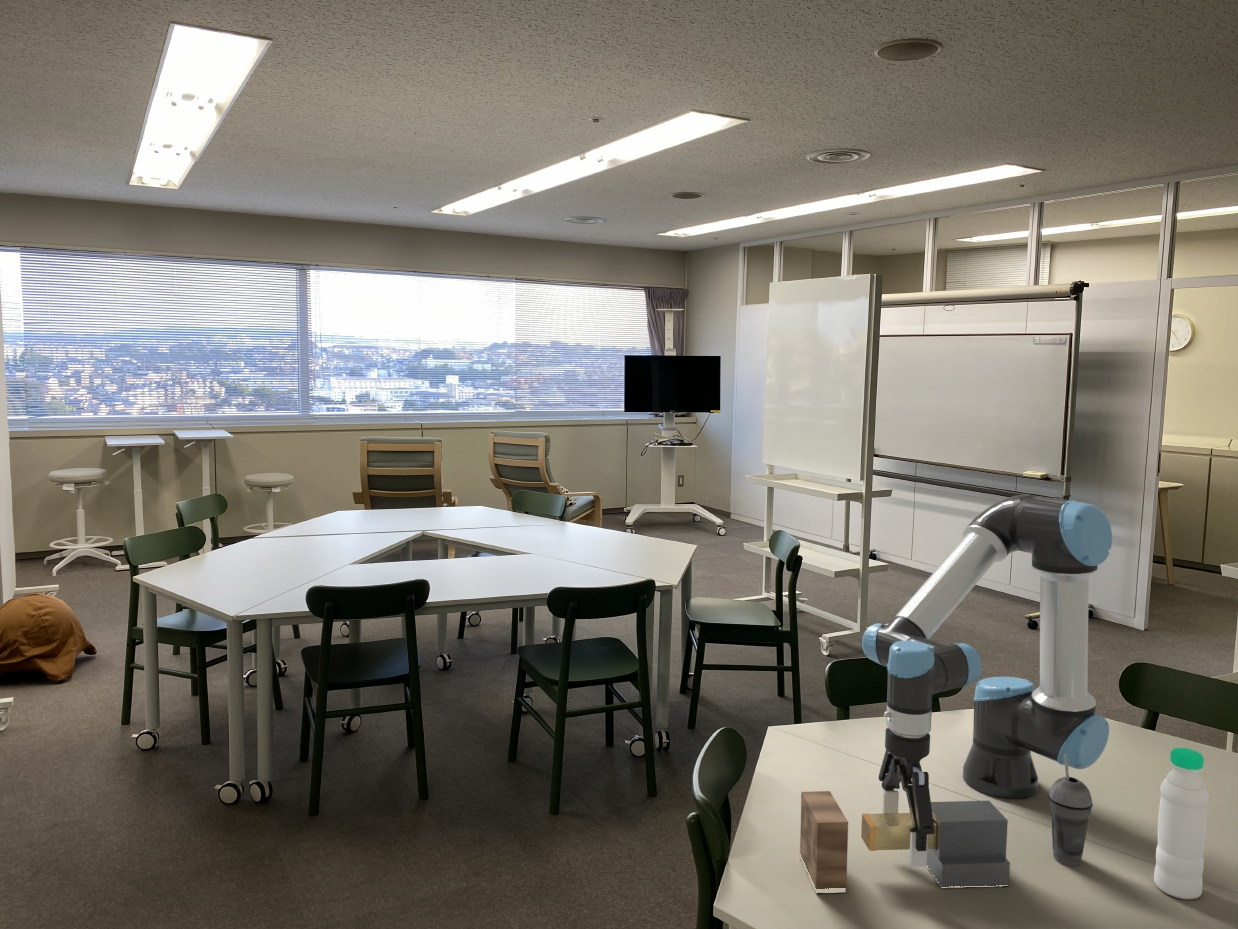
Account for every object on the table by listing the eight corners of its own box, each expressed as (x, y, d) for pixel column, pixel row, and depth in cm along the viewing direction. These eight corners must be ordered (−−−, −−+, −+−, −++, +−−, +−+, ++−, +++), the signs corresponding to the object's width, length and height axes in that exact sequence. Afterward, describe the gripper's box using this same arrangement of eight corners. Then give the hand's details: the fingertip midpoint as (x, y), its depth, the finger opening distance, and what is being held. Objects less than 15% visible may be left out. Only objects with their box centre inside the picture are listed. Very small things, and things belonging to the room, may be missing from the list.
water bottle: (1186, 906, 146) (1197, 764, 144) (1144, 884, 153) (1154, 748, 150) (1210, 894, 150) (1221, 755, 147) (1168, 873, 156) (1178, 740, 153)
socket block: (799, 858, 161) (801, 791, 159) (828, 858, 161) (829, 791, 160) (815, 894, 150) (817, 822, 148) (846, 893, 150) (848, 822, 149)
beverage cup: (1087, 875, 155) (1094, 768, 153) (1042, 862, 159) (1048, 758, 157) (1090, 855, 162) (1096, 753, 159) (1047, 844, 165) (1052, 744, 163)
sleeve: (919, 857, 161) (921, 798, 160) (982, 855, 162) (985, 796, 161) (941, 889, 151) (944, 826, 150) (1008, 887, 152) (1011, 824, 151)
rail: (861, 837, 157) (861, 813, 157) (980, 834, 158) (981, 810, 158) (869, 851, 153) (870, 826, 152) (991, 847, 154) (992, 823, 153)
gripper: (863, 703, 165) (860, 809, 168) (913, 761, 141) (908, 885, 143) (902, 703, 166) (898, 809, 168) (959, 761, 141) (953, 884, 143)
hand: (903, 844), depth 155 cm, fingers open, 13 cm apart
